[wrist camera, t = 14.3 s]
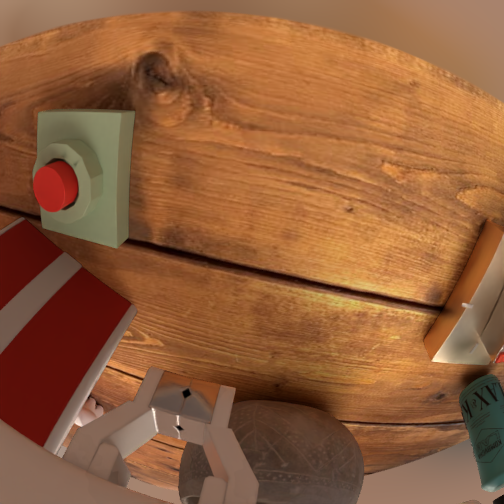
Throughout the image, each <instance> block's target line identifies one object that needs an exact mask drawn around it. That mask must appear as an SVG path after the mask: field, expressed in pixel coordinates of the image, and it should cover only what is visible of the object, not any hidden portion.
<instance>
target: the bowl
mask: <svg viewBox="0 0 504 504" xmlns="http://www.w3.org/2000/svg"><path fill="white" fill-rule="evenodd" d="M228 428H230V429H232V431H233V433H234V435H235V437H236V439H237V441H238V443H239V445H240V447H241V449H242V451H243V453H244V455H245V457H246V459H247V461H248V463H249V465H250V467H251V469H252V471H253V473H254V475H255V477H256V479H257V481H258V483H259V488H258V495H257V502H256V504H356V503H357V500H358V497H359V494H360V491H361V488H362V484H363V479H364V462H363V457H362V454H361V451H360V448H359V446H358V443H357V441H356V440H355V438H354V437H353V435H352V434H351V433H350V431H349V430H348V429H347V428H346V427H345V426H344V425H343V424H342V423H341V422H340V421H339V420H338V419H336V418H335V417H333V416H331V415H330V414H329V413H326V412H324V411H322V410H319V409H316V408H312V407H308V406H304V405H300V404H293V403H288V402H282V401H268V400H247V401H240V402H236V403H233V405H232V409H231V414H230V419H229V423H228ZM208 476H213V477H214V475H213V472H212V470H211V467H210V464H209V462H208V459H207V456H206V454H205V451H204V448H203V446H202V445H198V444H195V443H191V442H187V444H186V446H185V449H184V452H183V454H182V458H181V464H180V470H179V486H178V488H179V495H180V500H181V502H182V503H183V504H198V502H199V499H200V495H201V491H202V488H203V484H204V480H205V478H206V477H208Z"/></svg>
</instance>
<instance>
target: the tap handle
mask: <svg viewBox="0 0 504 504" xmlns="http://www.w3.org/2000/svg"><path fill="white" fill-rule="evenodd" d="M480 339H481V341H482V343H483V345H484V347H485V348H486V350H487V352H488V354H489V356H490V358H491V360H492V362H493V363H500V362H504V288H503V291H502V293H501V295H500V298H499V300H498V302H497V305H496V307H495V309H494V311H493V313H492V315H491V318H490V320H489V322H488V324H487V326H486V328H485V330H484V332H483V334H482V335H481V337H480Z"/></svg>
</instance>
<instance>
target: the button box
mask: <svg viewBox="0 0 504 504" xmlns="http://www.w3.org/2000/svg"><path fill="white" fill-rule="evenodd" d="M134 118H135V111H129V110H109V109H52V110H46V111H40V112H38V124H37V159H36V162H35V165H34V168H33V181H34V177H35V174H36V172H37V171H38V170H39V169H40V168H41V167H44V166H46V165H49V164H51V163H54V162H56V161H64V162H66V163H68V164H69V165H70V166H71V167H72V168H73V170H74V171H75V174H76V176H77V179H78V193H77V196H76V198H75V200H74V201H73V202H72V203H70V204H69V205H67V206H66V207H64V208H62V209H61V210H59V211H57V212H48V211H46V210H44V209H43V208H42V207H41V206H40V212H41V221H42V228H44V229H47V230H51V231H55V232H58V233H62V234H65V235H69V236H73V237H76V238H80V239H84V240H87V241H91V242H95V243H99V244H102V245H106V246H110V247H114V248H118V247H119V246H120V245H121V244H122V243H123V242H124V241H125V240H126V239H127V238H128V237H129V185H130V165H131V151H132V139H133V128H134Z"/></svg>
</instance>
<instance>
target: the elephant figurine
mask: <svg viewBox="0 0 504 504" xmlns="http://www.w3.org/2000/svg"><path fill="white" fill-rule="evenodd" d="M95 405H96V401H95V399H93V398H89V399H88V398H87V400H86V402H85V403H84V405H83V407H82V409H81V411H80V412H79V414H78V416H77V418H76V420H75V421H74V423H75V424H77V425H79V426H84V425H86V424H87V423H89V422H91V421H93V420H95V419H97V418H99V417H100V416H102V415H103V407H102V406H100V405H97V406H95ZM74 423H73V425H74Z"/></svg>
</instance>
